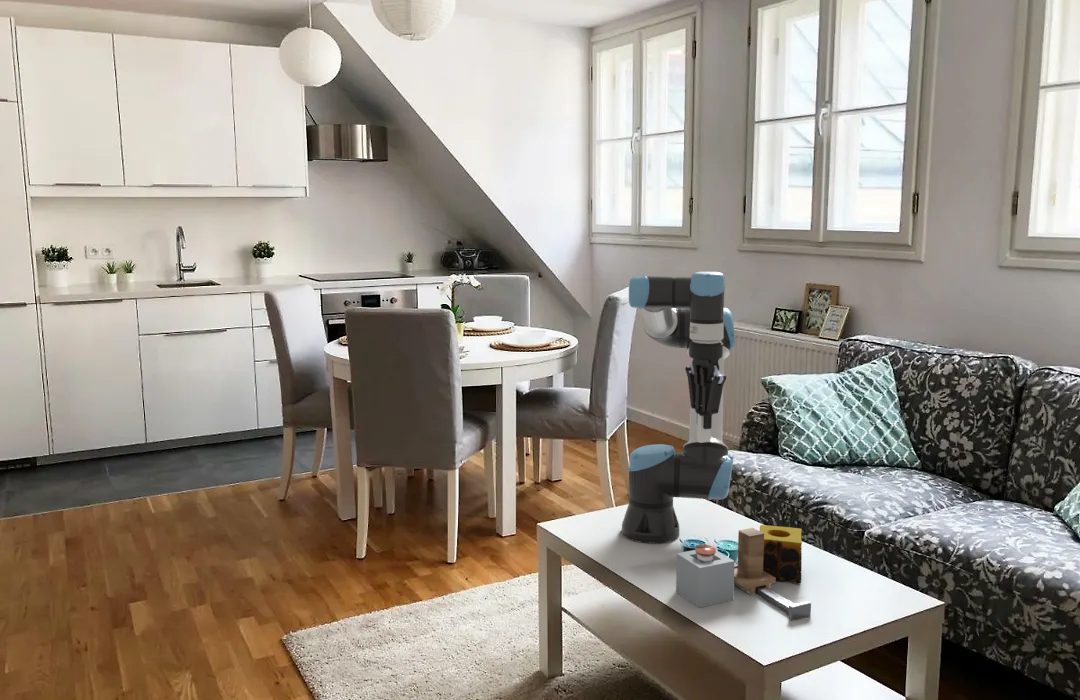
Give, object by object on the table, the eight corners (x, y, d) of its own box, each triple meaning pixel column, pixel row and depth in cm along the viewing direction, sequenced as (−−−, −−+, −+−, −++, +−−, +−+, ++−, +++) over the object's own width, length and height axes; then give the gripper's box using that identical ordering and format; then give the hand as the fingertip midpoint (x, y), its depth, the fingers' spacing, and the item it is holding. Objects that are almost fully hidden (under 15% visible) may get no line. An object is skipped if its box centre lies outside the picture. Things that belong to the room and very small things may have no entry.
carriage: (724, 582, 204) (725, 528, 202) (752, 576, 207) (754, 523, 205) (745, 595, 197) (747, 540, 195) (775, 589, 200) (777, 535, 198)
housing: (676, 591, 200) (676, 553, 198) (709, 584, 203) (710, 546, 202) (698, 607, 191) (699, 568, 190) (733, 600, 195) (734, 561, 194)
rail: (724, 578, 206) (725, 566, 206) (742, 575, 208) (742, 562, 208) (791, 620, 185) (792, 607, 185) (810, 616, 187) (811, 602, 187)
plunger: (691, 567, 197) (691, 546, 197) (707, 563, 199) (708, 543, 198) (702, 574, 193) (702, 553, 193) (719, 571, 195) (719, 550, 194)
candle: (801, 585, 203) (802, 543, 201) (755, 580, 206) (756, 538, 204) (801, 568, 212) (803, 528, 211) (758, 563, 215) (759, 523, 214)
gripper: (676, 337, 206) (674, 436, 210) (709, 346, 194) (706, 450, 198) (703, 335, 209) (701, 432, 213) (737, 343, 197) (734, 446, 201)
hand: (703, 441), depth 205 cm, fingers closed
